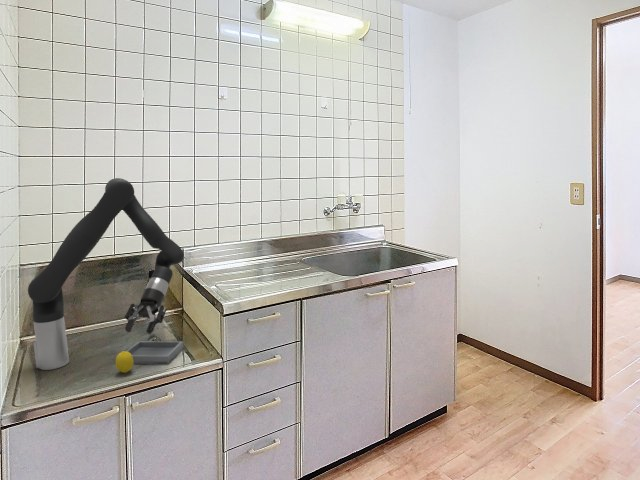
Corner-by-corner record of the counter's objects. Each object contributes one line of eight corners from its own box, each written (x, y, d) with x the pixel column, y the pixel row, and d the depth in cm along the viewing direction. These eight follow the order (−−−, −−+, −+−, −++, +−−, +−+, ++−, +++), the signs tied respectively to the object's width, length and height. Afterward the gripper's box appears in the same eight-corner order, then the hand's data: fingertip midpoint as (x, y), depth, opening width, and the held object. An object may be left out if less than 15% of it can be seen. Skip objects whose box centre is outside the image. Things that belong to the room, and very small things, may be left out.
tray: (119, 364, 152) (119, 356, 151) (139, 348, 166) (138, 341, 165) (168, 364, 150) (167, 356, 150) (183, 348, 164) (183, 341, 164)
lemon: (127, 377, 141) (125, 354, 140) (113, 376, 142) (110, 353, 141) (137, 370, 146) (135, 348, 145) (123, 369, 148) (121, 347, 146)
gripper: (133, 286, 158) (114, 326, 149) (167, 287, 155) (149, 328, 146) (143, 296, 164) (126, 335, 155) (176, 297, 161) (160, 337, 151)
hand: (137, 332), depth 150 cm, fingers open, 8 cm apart
